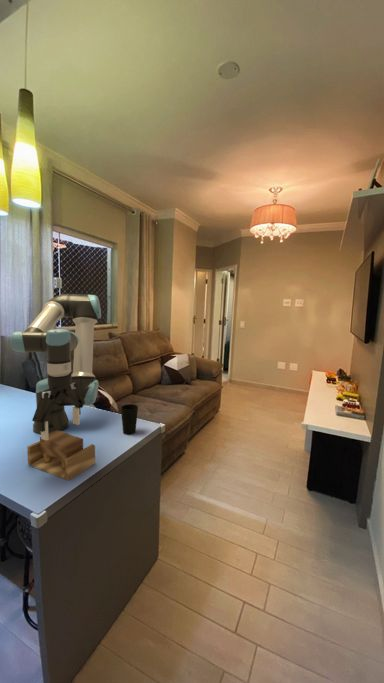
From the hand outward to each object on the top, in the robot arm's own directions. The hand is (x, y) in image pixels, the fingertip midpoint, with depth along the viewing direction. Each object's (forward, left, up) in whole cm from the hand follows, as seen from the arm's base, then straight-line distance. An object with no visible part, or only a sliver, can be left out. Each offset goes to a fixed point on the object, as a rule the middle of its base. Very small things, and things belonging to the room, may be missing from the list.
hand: (61, 431), depth 102 cm
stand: (0, 0, -12) cm, 12 cm away
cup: (+5, +33, -12) cm, 35 cm away
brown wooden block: (0, -1, -8) cm, 8 cm away
